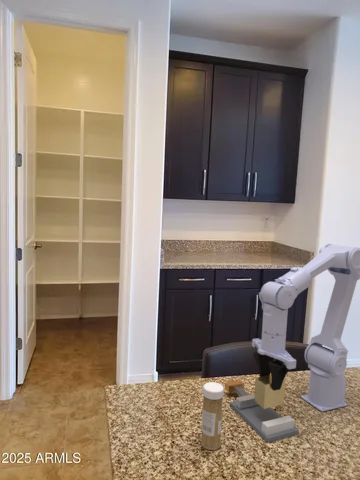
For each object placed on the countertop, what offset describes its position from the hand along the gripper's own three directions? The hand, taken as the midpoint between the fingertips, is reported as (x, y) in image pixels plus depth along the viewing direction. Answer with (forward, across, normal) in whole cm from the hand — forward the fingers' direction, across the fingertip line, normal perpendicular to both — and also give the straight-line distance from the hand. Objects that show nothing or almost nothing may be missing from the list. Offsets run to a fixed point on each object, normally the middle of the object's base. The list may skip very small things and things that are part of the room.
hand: (270, 384), depth 88 cm
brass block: (+4, 0, 0) cm, 4 cm away
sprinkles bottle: (+10, +3, -18) cm, 20 cm away
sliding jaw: (+8, -10, -1) cm, 13 cm away
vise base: (+9, -1, -1) cm, 10 cm away
